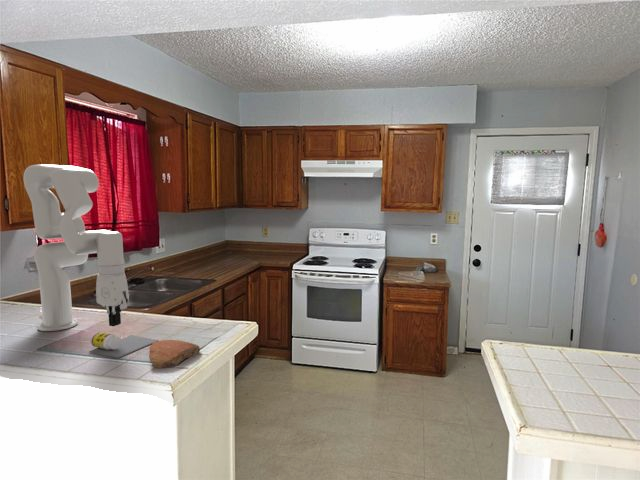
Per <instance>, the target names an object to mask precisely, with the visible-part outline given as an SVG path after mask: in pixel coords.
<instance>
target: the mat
mask: <svg viewBox="0 0 640 480" xmlns="http://www.w3.org/2000/svg"><path fill="white" fill-rule="evenodd" d="M120 340H121V343H120V346H119V347H118V348H117V349H115V350H113V349H110V350H107V349H102V348H98V347H95V348H94V349H92V350H89V353H92V354H95V355H101V356H104V357H105V356H106V357H110V358H115V359H120V358H122V357H125V356H127V355H129V354H131V353H135V352H137V351H139V350H141V349H144V348H146V347H148V346H151V345H152V343H153V342H156V341H159V339H155V338H150V337H149V338H148V337H144V336H137V335H132V334H131V335H129V336H125V337H122V338H120Z"/></svg>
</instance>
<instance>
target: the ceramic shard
mask: <svg viewBox="0 0 640 480" xmlns="http://www.w3.org/2000/svg"><path fill="white" fill-rule="evenodd" d="M149 346H150V347H149V351H148V353H149V356H148V357H149V361H150V363H151V364H152V365H153V366H154V368H156V369H164V368H169V367H176V366H178V365H179V364H181V363H182V362H183V361H184V360H185V359H188V358H191V357H194V356H195V355H198V354H199V353H200V350H201V348H200V346H199V345H197V344H195V343H192V342H188V341H184V340H181V339H163V340H158V341H156V342H153V343H152V344H151V345H149Z"/></svg>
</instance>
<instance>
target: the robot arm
mask: <svg viewBox="0 0 640 480" xmlns="http://www.w3.org/2000/svg"><path fill="white" fill-rule="evenodd" d="M99 182H100V181H99V178H98V176H97V174H96V173H95V172H94V171H93V170H91V169H89V168H85V167H81V166H75V165H65V164H63V165H62V164H61V165H59V164H46V163H44V164H42V163H41V164H31V165H29V166H27V167H26V169H25V170H24V173H23V184H24V189H25V191H26V193H27V195H28V198H29V200H30V203H31V207H32V216H33V223H34V229H35V233H36V236H37V237H38V238H39V239H41V240H42V239H43V240H56V239H58V240H59V239H62V240H63V241H58V242H57V241H55V242H47V243H43V244H41V245H38V246H37V247H35V250H34V252H33V258H34V263H35V266H36V270H37V274H38V280H39V283H38V284H39V292H40V304H41V315H40V316H39V317H38V319H39V320H41V321H42V322H41V323H40V324H39V325H38V326H37V328H38V330H39V331H40V332H56V331H62V330H67V329H71V328H73V327H75V326H77V325H78V322H79V321H78V319H76V318H74V317H73V307H72V306H73V305H72V304H73V303H72V292H71V291H72V290H71V281H70V279H71V278H70V276H69V275H68V274H67V273H66V272H65V271H64V270H63V268H66V267H73V266H78V265H83V264H85V263H86V262H87V261H88V259H89V255H90V254H91V255H92V254H97V268H98V274H97V276H96V284H95V296H96V297H95V298H96V299H95V300H96V303H97V304H98V305H100V306H102V308H105V309H106V313H107V314H108V326H109V327H116V326H120V325H121V324H122V320H121V319H122V317H121V313H122V312H123V310H124V309H128V305H127V304H128V303H129V300H130V299H129V298H130V295H129V287H128V281H127V276H126V274H125V258H124V245H123V244H124V243H123V242H124V241H123V234H122V233H121V232H119V231H111V230H107V229H96V230H94V229H93V230H86V226H85V222H84V220H83V218H82V216H84V215H86V214H87V213H88V212H90V211H91V209H92V208H93V205H94V203H93V200H92V199H91V197H90V195H89V194H90V193H95V192H97V191H98V189H99V185H100V183H99ZM50 189H55V192H56V194H57V196H56V195H55V193H54V192H52V191H51V190H50ZM58 198H59V199H58ZM60 202H61V204H62V206H63V209H64V212H61V207H60Z"/></svg>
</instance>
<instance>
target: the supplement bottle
mask: <svg viewBox="0 0 640 480" xmlns="http://www.w3.org/2000/svg"><path fill="white" fill-rule="evenodd" d="M120 339H121V338H120V337H119V336H116V334H115V335H114V334H111V333H106V332H101V331H97V332H95V333H94V334H93V335H92V336H91V338H90V343H91V346H92V347H94V348H102V349H107V350H110V349H113V350H115V349H117V348H118V347H119V346H120V343H121V340H120Z"/></svg>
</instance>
